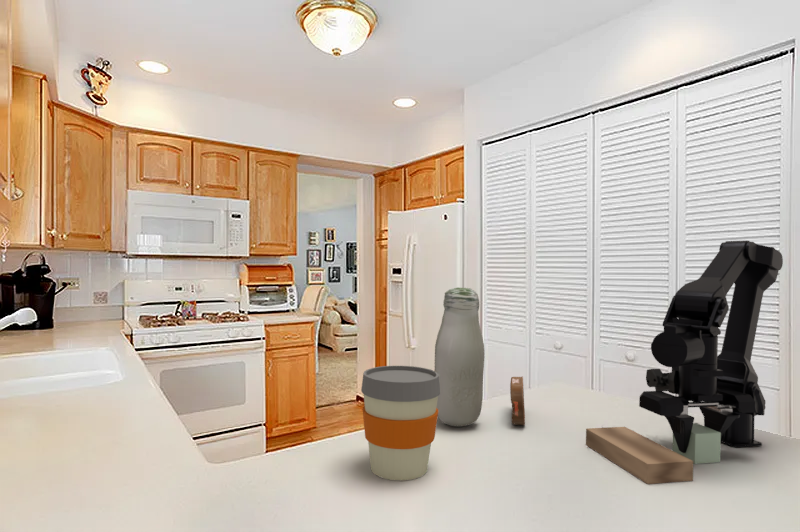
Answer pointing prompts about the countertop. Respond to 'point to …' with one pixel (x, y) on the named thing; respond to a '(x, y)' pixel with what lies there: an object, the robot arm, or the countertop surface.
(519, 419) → the tin
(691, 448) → the sage block
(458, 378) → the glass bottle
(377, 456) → the reusable coffee cup
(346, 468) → the countertop surface
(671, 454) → the walnut base
